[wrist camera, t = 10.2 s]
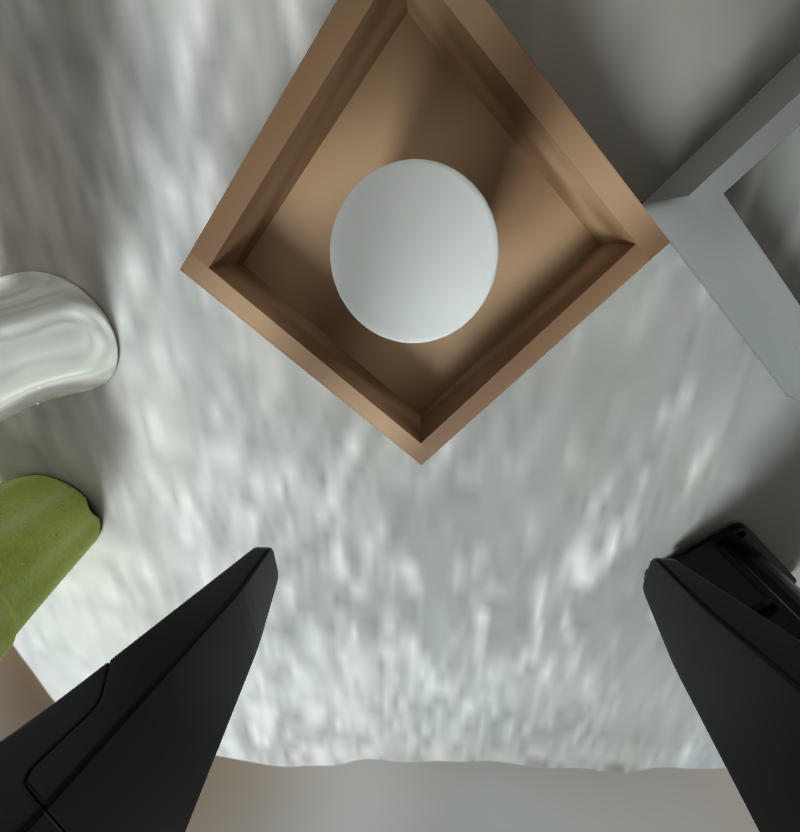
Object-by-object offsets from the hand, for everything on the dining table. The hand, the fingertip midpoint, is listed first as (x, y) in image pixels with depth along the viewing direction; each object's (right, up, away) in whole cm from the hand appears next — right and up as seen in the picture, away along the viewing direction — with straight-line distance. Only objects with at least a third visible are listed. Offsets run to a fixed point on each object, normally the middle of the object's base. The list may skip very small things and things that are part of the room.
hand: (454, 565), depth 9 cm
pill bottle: (-1, +11, +7) cm, 13 cm away
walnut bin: (-1, +11, +8) cm, 13 cm away
